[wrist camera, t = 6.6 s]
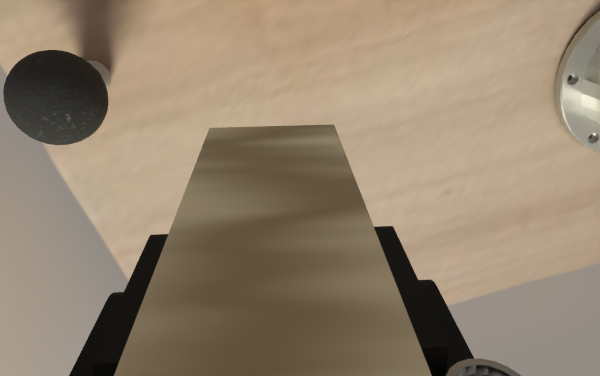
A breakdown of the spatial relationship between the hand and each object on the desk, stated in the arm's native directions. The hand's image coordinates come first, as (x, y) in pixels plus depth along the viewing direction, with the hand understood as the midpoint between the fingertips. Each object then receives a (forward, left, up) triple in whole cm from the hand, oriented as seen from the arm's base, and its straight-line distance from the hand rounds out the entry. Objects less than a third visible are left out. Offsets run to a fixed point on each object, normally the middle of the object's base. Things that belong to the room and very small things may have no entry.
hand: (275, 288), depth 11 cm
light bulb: (+13, 0, -27) cm, 30 cm away
